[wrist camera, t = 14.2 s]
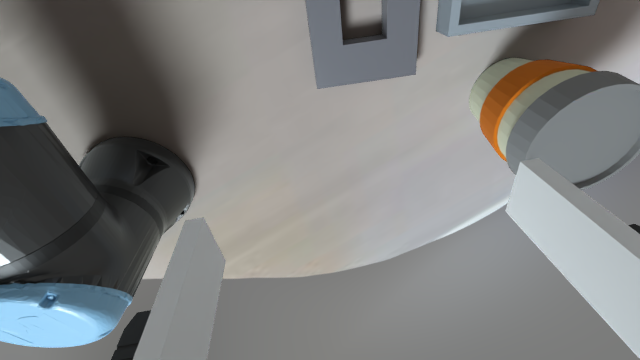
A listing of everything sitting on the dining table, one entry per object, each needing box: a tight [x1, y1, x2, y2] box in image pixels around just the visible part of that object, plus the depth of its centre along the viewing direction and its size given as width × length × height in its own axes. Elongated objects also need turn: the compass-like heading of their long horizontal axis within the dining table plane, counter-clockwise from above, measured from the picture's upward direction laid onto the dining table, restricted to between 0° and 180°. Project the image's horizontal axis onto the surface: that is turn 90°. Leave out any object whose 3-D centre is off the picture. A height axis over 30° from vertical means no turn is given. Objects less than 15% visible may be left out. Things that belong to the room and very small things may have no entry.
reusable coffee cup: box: [469, 58, 640, 190], centre depth 35 cm, size 12×13×15 cm
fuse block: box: [305, 0, 420, 89], centre depth 33 cm, size 14×12×2 cm
